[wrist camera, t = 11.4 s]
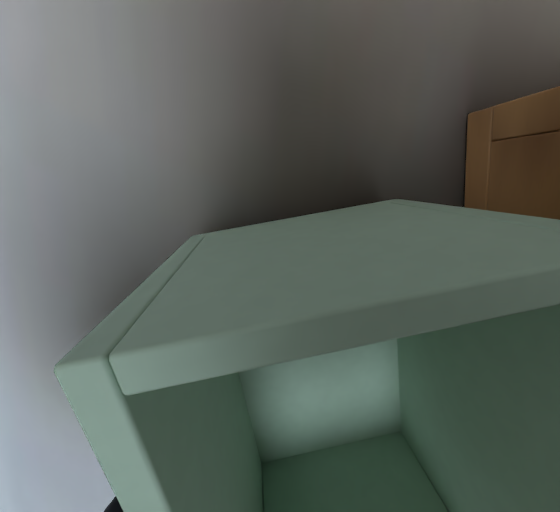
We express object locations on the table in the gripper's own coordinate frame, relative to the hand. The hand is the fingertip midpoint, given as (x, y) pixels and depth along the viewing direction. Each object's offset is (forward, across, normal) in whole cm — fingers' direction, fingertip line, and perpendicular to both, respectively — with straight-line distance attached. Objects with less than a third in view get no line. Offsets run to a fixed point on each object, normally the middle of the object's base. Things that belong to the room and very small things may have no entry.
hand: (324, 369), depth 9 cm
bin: (+1, 0, 0) cm, 1 cm away
